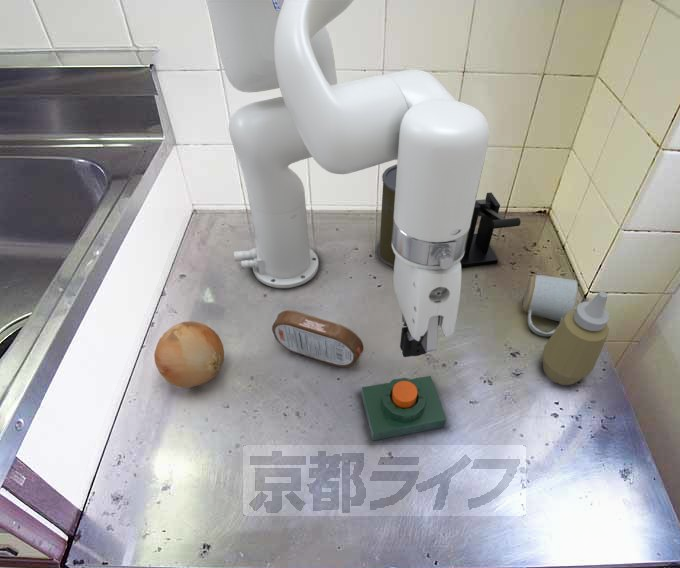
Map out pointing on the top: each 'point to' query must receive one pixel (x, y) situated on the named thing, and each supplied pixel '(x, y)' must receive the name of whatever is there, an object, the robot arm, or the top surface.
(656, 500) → the top surface
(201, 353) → the onion
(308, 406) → the top surface
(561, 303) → the ceramic mug
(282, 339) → the tin
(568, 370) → the squeeze bottle
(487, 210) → the lever
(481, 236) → the bracket
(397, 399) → the button
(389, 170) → the canister
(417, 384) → the button box
